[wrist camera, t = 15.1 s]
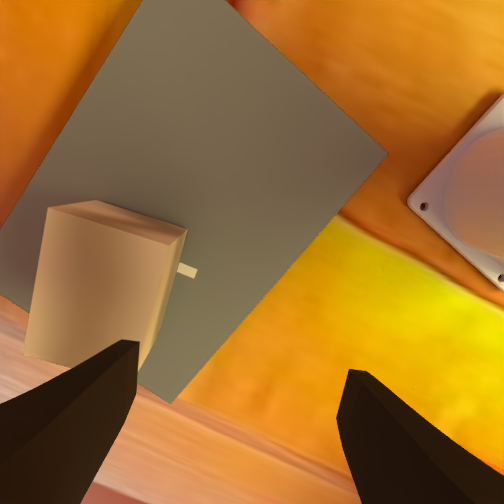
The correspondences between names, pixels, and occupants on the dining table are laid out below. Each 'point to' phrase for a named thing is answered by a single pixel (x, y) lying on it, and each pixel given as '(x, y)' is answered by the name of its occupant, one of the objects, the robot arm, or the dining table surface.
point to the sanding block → (100, 281)
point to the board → (198, 170)
